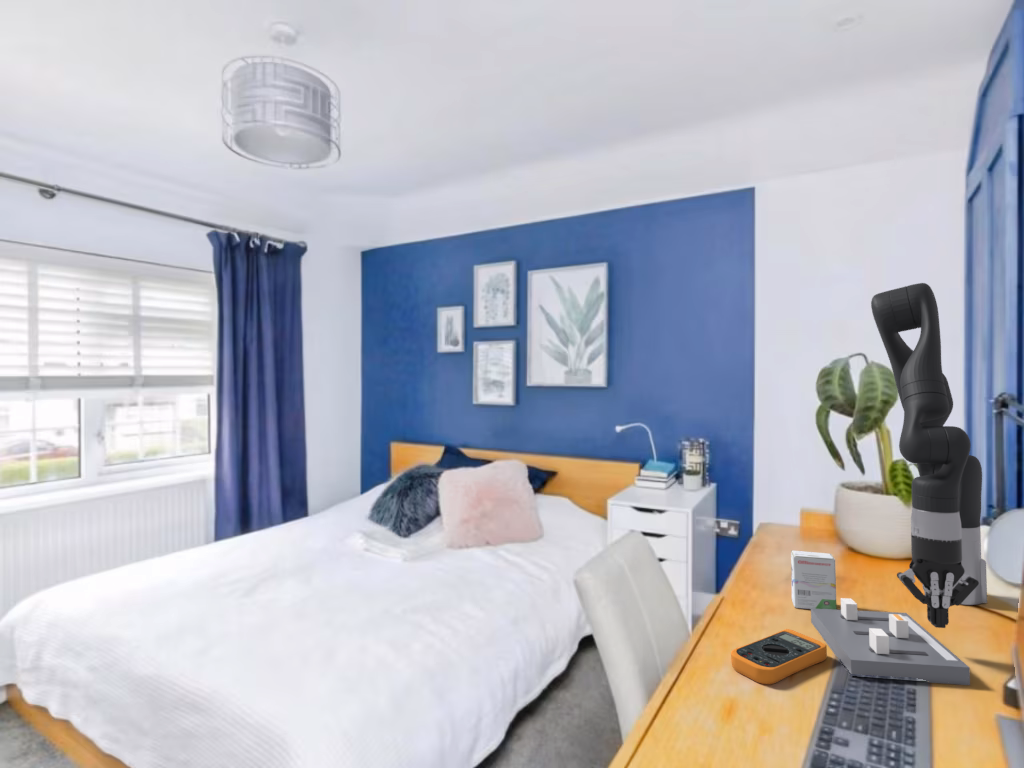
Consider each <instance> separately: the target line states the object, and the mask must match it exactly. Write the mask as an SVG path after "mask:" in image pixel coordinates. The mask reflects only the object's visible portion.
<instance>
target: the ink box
mask: <svg viewBox="0 0 1024 768" xmlns="http://www.w3.org/2000/svg"><path fill="white" fill-rule="evenodd" d="M790 565H791V567H790V570H791V571H790V573H791V578H790V579H791V601H792V604H793V607H794V608H797V609H805V610H811V608H814V609H835V610H838V609H837V577H836V576H837V575H836V574H837V573H836V558H835V557H834V556H833V554H832V553H827V552H815V551H814V552H813V551H801V550H791V551H790Z"/></svg>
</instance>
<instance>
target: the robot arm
mask: <svg viewBox="0 0 1024 768" xmlns="http://www.w3.org/2000/svg"><path fill="white" fill-rule="evenodd" d="M870 305H871V306H870V307H871V311H872V317H873V320H874V322H875V325H876V328H877V330H878V333H879V336H880V338H881V341H882V344H883V346H884V349H885V351H886V354H887V357H888V360H889V362H890V366H891V370H892V373H893V377H894V382H895V386H896V389H897V393H898V397H899V400H900V403H901V406H902V410H903V422H902V428H901V434H900V437H899V445H898V446H899V447H898V448H899V452H900V454H901V456H902V458H904V460H906V461H907V462H908V463H911V464H916V466H917V470H918V476H917V477H914V478H913V479H912V481H911V515H910V540H911V541H910V542H911V543H910V544H911V545H910V546H911V551H910V552H911V561H910V562H909V568H908V569H906V570H905V571H904V572H900V571H899V572H897V573H896V577H897V578H898V580H899V581H900V582H901V584H903V585H904V586H905V588H906V589H907V590H908V591H909V592H910V593H911V594H912V595H913V597H914V598H915V599H916V600H918V601H919V602H921V604H922V605H926V612H927V617H926V618H927V620H928V622H930V623H931V626H933V627H934V628H937V629H938V628H939V629H940V628H941V629H945V628H946V626H947V625H948V624H949V622H950V621H949V620H950V619H949V608H950V607H952V606H956V607H958V606H960V605H966V606H973V605H974V606H975V605H976V606H977V605H980V604H988V587H987V586H988V585H987V583H988V582H987V581H988V580H987V562H986V560H985V559H983V558H982V541H981V540H982V539H981V537H982V535H981V534H982V533H981V516H982V489H983V488H982V487H983V471H982V470H983V469H982V468H983V467H982V465H981V462H980V460H979V458H978V457H976V456H975V455H971V453H970V452H971V448H972V447H971V446H972V445H971V439H970V437H969V435H968V433H967V432H966V431H965V430H964V429H962V428H961V427H959V426H949V425H947V426H946V425H945V424H946V422H947V420H948V419H949V417H950V415H951V414H952V411H953V408H954V400H953V396H952V392H951V389H950V384H949V381H948V379H947V377H946V375H945V374H944V373H943V365H942V340H941V329H940V327H941V326H940V318H939V307H938V303H937V299H936V296H935V293H934V292H933V289H932V287H931V286H930V285H929V284H927V283H925V282H920V283H914V284H909V285H905V286H902V287H898V288H894V289H890V290H886V291H882V292H879V293H877V294H875V295H873V296H872V298H871V301H870ZM916 329H920V334H919V338H918V341H917V343H916V345H915V348H914V349H912V348H911V347H910V346H909V345H907V343H906V342H905V340H904V339H903V337H902V336H901V334H900V333H901V332H906V331H911V330H916ZM916 579H917V580H918V581H919V582H920V583H921V584H922V590H923V591H924V593H923V592H922V591H921V590H920V589H919V587H918V586H917V585H916V584H915V583H916ZM948 626H949V625H948Z"/></svg>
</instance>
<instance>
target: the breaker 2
mask: <svg viewBox="0 0 1024 768" xmlns="http://www.w3.org/2000/svg"><path fill="white" fill-rule="evenodd" d="M869 644H870V647H871V648H872V649H873V650H874V651H875V652H876V653H877V654H889V636H888V635H887V634H886V633H885V632H884V631H883V630H882V629H876V628H869Z"/></svg>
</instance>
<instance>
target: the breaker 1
mask: <svg viewBox="0 0 1024 768" xmlns="http://www.w3.org/2000/svg"><path fill="white" fill-rule="evenodd" d="M840 610H841V614H842V615H843V616H844V617H845V619H846V620H858V616H857V611H858V603H857V602H856V601H855V600H853V598H847V597H845V598H844V597H840Z"/></svg>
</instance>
